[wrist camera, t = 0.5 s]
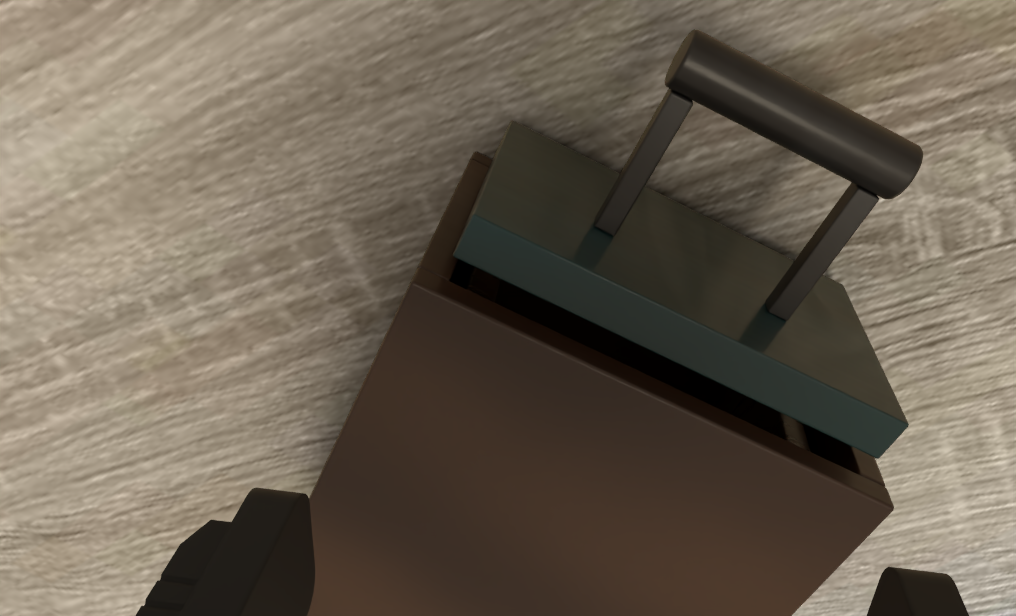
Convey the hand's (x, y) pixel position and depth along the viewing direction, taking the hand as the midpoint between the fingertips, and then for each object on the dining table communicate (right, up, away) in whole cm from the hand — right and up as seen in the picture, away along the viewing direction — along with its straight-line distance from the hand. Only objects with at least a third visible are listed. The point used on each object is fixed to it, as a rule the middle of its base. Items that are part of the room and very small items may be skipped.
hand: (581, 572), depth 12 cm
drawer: (+2, +4, +16) cm, 17 cm away
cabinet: (+1, 0, +19) cm, 19 cm away
